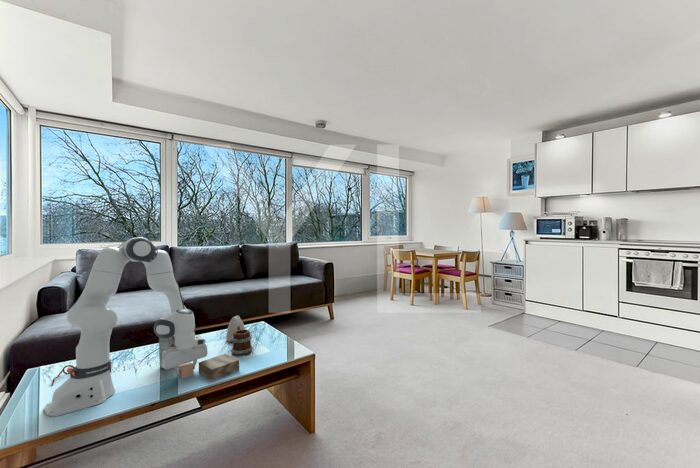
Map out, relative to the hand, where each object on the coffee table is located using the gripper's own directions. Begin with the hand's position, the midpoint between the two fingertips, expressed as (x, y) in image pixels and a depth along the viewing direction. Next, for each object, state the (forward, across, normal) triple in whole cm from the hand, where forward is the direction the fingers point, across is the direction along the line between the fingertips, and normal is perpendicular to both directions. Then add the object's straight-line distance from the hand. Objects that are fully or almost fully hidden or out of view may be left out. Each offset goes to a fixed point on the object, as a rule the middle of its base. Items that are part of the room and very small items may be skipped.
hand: (185, 371), depth 156 cm
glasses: (+2, -34, +41) cm, 53 cm away
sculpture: (+2, +43, +26) cm, 50 cm away
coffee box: (+2, +1, +19) cm, 19 cm away
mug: (+2, +33, +5) cm, 33 cm away
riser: (+2, +12, -9) cm, 15 cm away
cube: (+2, 0, 0) cm, 2 cm away
